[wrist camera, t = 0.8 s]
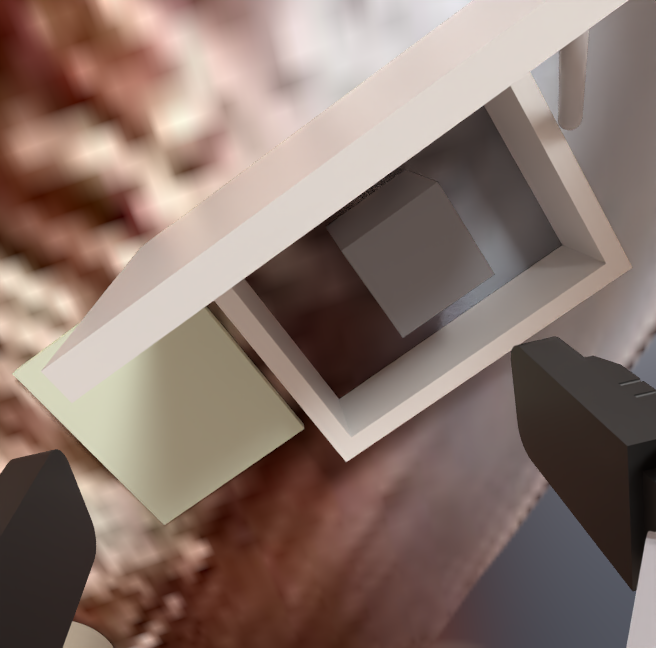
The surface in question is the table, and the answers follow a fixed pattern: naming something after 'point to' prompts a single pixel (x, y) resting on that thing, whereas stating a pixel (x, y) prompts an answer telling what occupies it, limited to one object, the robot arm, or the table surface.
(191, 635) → the table surface
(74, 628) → the travel mug
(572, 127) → the case
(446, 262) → the block
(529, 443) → the robot arm
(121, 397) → the mat
